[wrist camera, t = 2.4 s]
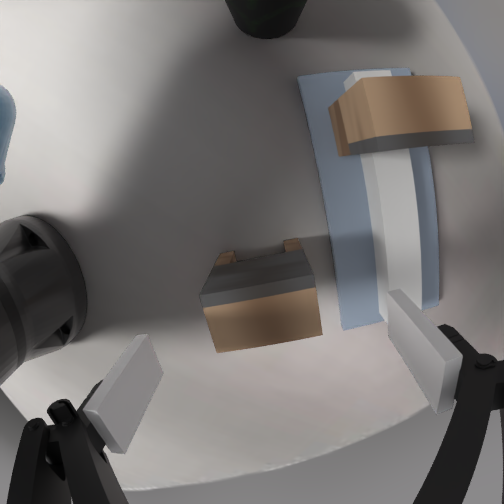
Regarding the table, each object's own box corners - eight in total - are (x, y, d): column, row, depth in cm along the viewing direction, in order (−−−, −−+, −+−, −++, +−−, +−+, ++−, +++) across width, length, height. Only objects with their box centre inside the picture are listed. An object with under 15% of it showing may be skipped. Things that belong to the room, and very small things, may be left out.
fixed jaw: (401, 100, 21) (459, 76, 13) (411, 146, 22) (474, 142, 14) (327, 107, 22) (361, 77, 13) (338, 156, 23) (378, 152, 14)
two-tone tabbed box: (231, 296, 27) (216, 353, 19) (220, 253, 26) (199, 295, 18) (305, 282, 27) (322, 334, 18) (297, 238, 26) (313, 274, 17)
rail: (341, 325, 28) (351, 348, 24) (297, 79, 22) (302, 64, 18) (434, 301, 27) (453, 318, 23) (404, 70, 21) (424, 58, 17)
